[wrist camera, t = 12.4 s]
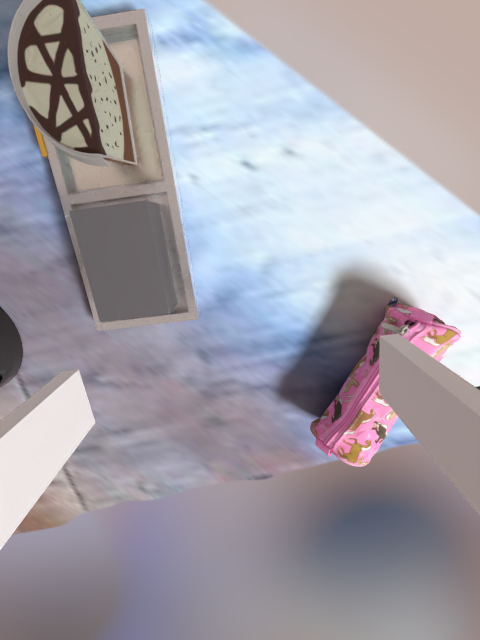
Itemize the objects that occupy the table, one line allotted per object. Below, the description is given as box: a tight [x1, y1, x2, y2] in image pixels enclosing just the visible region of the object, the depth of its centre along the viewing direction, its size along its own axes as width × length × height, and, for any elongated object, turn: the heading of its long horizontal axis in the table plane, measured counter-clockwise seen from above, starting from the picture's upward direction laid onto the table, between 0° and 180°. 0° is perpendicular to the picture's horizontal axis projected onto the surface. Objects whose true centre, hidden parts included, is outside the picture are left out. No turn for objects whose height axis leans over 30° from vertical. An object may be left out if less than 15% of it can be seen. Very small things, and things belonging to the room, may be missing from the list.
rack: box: [33, 9, 201, 331], centre depth 35 cm, size 14×31×3 cm, turn 7°
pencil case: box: [310, 297, 461, 466], centre depth 38 cm, size 21×9×9 cm, turn 155°
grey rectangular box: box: [69, 200, 178, 322], centre depth 35 cm, size 8×12×5 cm, turn 7°
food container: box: [7, 0, 137, 167], centre depth 28 cm, size 12×6×10 cm, turn 4°
